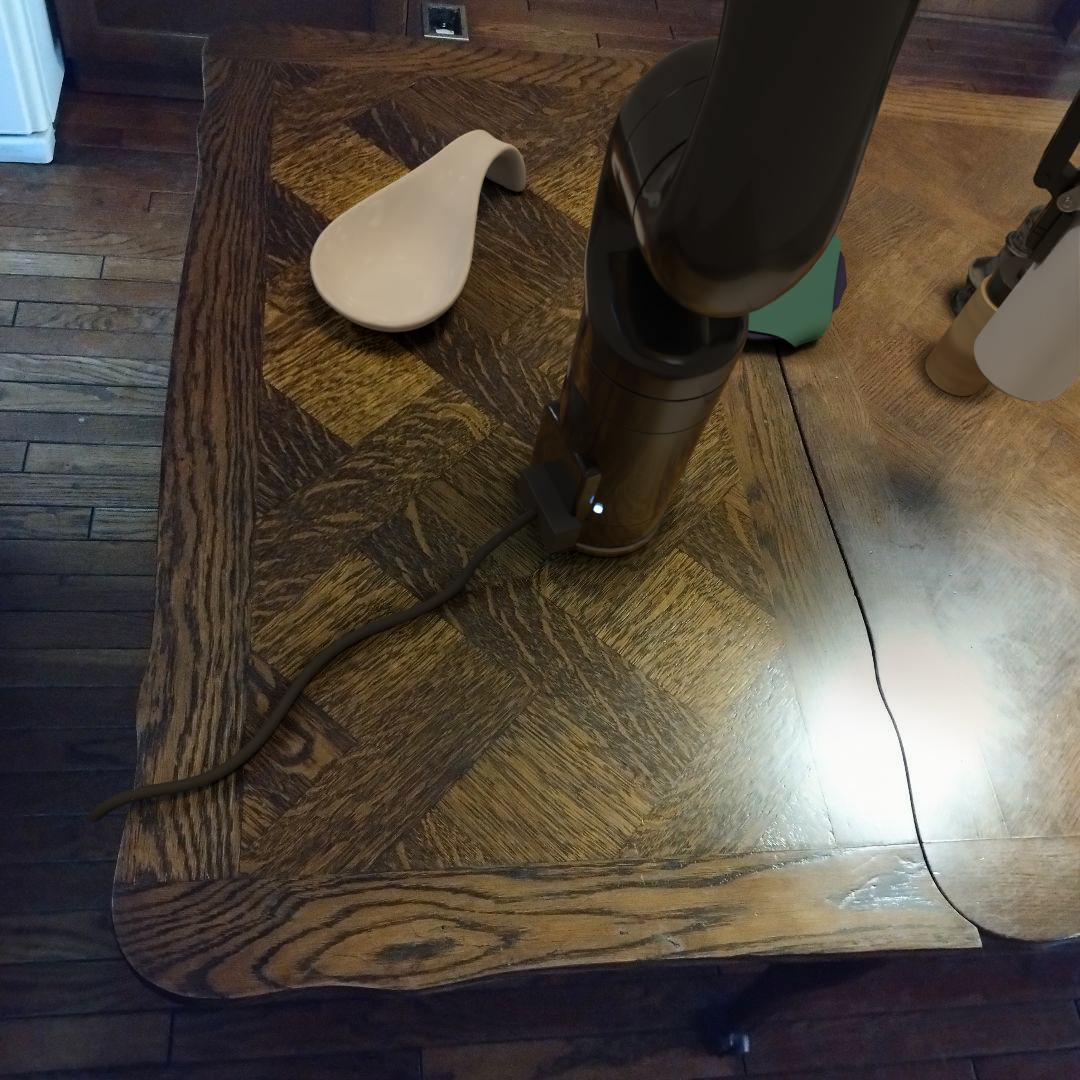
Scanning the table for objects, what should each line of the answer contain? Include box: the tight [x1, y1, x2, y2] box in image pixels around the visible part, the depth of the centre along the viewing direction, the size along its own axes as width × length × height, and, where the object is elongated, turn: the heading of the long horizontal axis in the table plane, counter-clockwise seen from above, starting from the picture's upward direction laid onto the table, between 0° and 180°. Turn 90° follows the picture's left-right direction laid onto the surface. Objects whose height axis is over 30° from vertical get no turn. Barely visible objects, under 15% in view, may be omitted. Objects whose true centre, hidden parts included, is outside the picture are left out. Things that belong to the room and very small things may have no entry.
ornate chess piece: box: [950, 203, 1047, 317], centre depth 82 cm, size 6×6×12 cm
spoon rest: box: [309, 129, 527, 333], centre depth 78 cm, size 24×12×7 cm, turn 152°
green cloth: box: [746, 233, 848, 348], centre depth 87 cm, size 20×30×2 cm, turn 165°
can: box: [974, 208, 1080, 403], centre depth 59 cm, size 6×6×12 cm
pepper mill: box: [924, 257, 1034, 397], centre depth 78 cm, size 5×5×12 cm
